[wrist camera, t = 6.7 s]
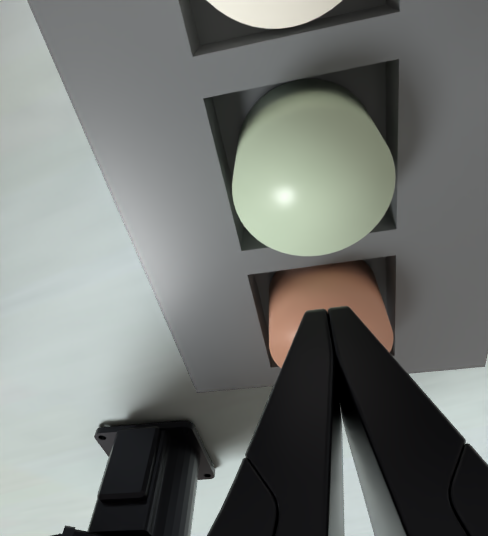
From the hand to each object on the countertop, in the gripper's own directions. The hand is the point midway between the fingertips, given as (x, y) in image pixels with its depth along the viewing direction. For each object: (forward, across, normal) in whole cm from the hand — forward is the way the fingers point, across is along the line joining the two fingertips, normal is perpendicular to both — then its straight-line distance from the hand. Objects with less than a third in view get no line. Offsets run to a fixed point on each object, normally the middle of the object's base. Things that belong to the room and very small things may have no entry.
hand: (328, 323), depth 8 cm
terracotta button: (+8, 0, +6) cm, 10 cm away
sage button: (+8, 0, 0) cm, 8 cm away
